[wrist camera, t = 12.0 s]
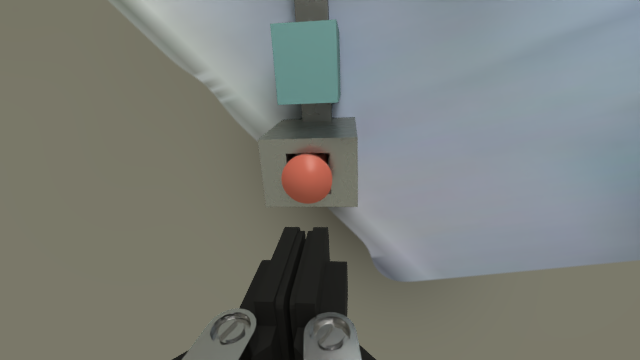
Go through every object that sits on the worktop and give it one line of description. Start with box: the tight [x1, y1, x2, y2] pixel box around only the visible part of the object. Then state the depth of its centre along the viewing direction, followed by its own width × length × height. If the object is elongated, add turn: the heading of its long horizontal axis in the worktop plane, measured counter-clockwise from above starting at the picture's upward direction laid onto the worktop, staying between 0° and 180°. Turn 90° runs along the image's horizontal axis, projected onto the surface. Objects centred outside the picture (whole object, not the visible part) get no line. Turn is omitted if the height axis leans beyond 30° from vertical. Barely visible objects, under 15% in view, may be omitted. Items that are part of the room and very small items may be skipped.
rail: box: [294, 0, 332, 122], centre depth 28 cm, size 3×22×2 cm, turn 3°
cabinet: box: [258, 117, 358, 207], centre depth 29 cm, size 8×6×10 cm
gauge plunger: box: [281, 153, 332, 204], centre depth 25 cm, size 4×4×5 cm
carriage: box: [270, 20, 340, 105], centre depth 27 cm, size 5×6×8 cm
